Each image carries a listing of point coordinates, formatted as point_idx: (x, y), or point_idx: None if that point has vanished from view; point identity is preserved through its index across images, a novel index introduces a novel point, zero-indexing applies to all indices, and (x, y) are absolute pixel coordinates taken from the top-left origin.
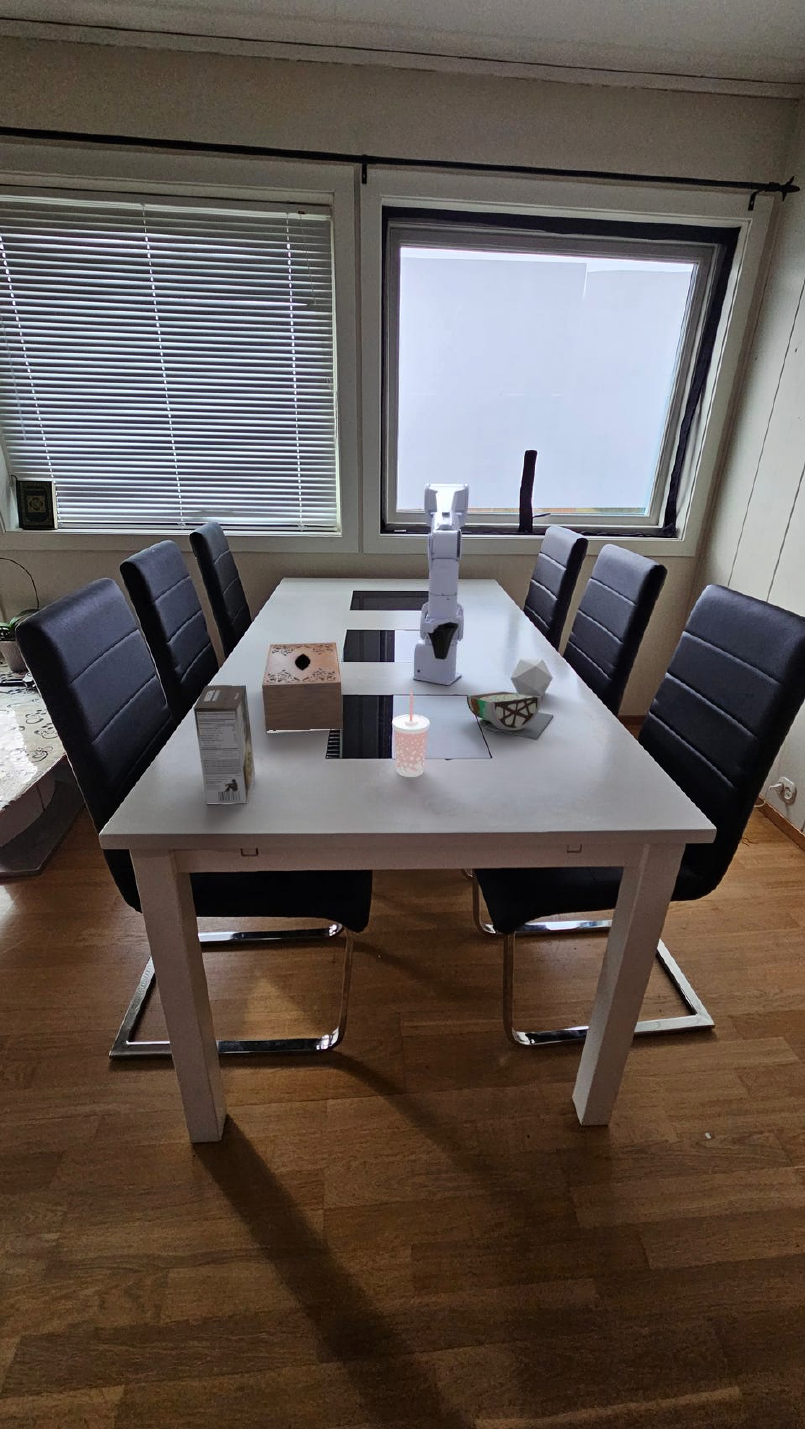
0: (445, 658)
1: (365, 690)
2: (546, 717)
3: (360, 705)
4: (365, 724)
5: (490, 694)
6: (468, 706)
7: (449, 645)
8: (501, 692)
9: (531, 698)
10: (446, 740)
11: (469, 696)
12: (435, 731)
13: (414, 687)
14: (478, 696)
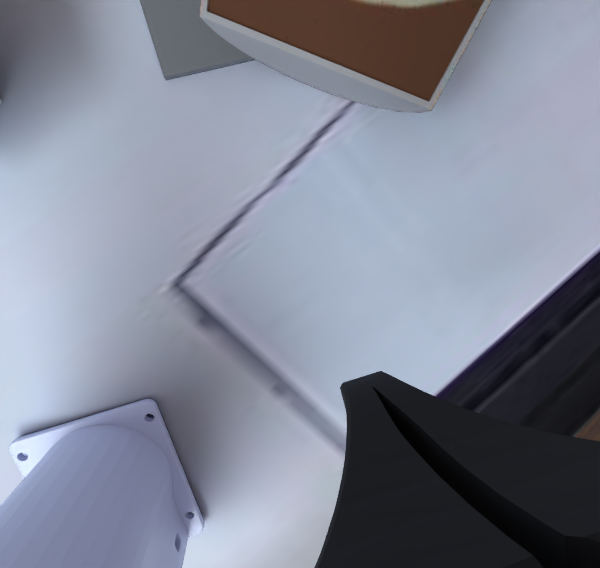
0: (360, 378)
1: None
2: None
3: None
4: (584, 352)
5: (315, 32)
6: (405, 111)
7: (367, 425)
8: (223, 19)
9: None
10: (551, 88)
11: (439, 85)
12: (515, 162)
13: (259, 465)
14: (407, 48)
